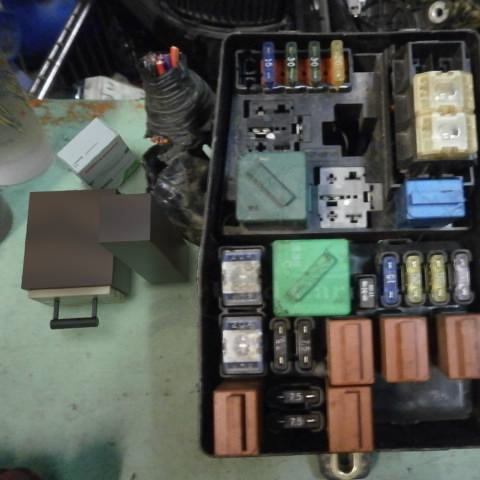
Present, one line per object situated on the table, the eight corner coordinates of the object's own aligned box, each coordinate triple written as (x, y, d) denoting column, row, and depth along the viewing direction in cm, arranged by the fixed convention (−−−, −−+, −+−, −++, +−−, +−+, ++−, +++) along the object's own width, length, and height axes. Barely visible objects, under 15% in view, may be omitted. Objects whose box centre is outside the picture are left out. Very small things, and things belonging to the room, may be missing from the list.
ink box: (121, 148, 92) (96, 113, 81) (142, 165, 92) (120, 132, 80) (83, 184, 90) (53, 153, 79) (105, 202, 89) (77, 173, 78)
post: (189, 282, 86) (150, 240, 63) (151, 284, 86) (97, 243, 63) (189, 246, 88) (151, 192, 65) (151, 248, 88) (100, 194, 65)
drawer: (124, 329, 83) (108, 323, 76) (47, 334, 82) (24, 328, 75) (128, 220, 88) (113, 204, 81) (56, 223, 87) (35, 208, 80)
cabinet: (130, 295, 85) (112, 284, 77) (49, 300, 85) (20, 288, 76) (133, 208, 89) (116, 188, 81) (55, 212, 89) (29, 191, 80)
